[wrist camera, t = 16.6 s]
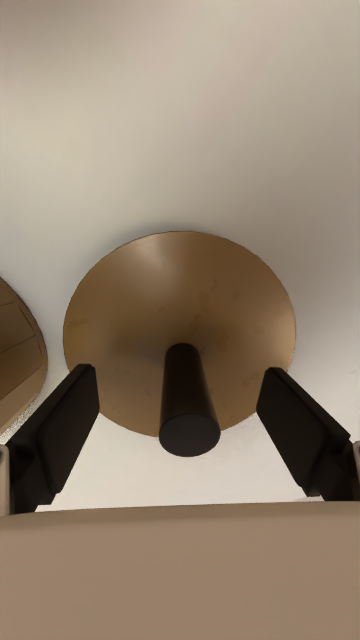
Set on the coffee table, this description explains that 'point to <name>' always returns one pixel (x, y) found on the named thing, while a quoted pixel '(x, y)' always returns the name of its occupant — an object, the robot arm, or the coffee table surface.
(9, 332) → the tin
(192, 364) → the tin lid
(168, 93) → the coffee table surface
